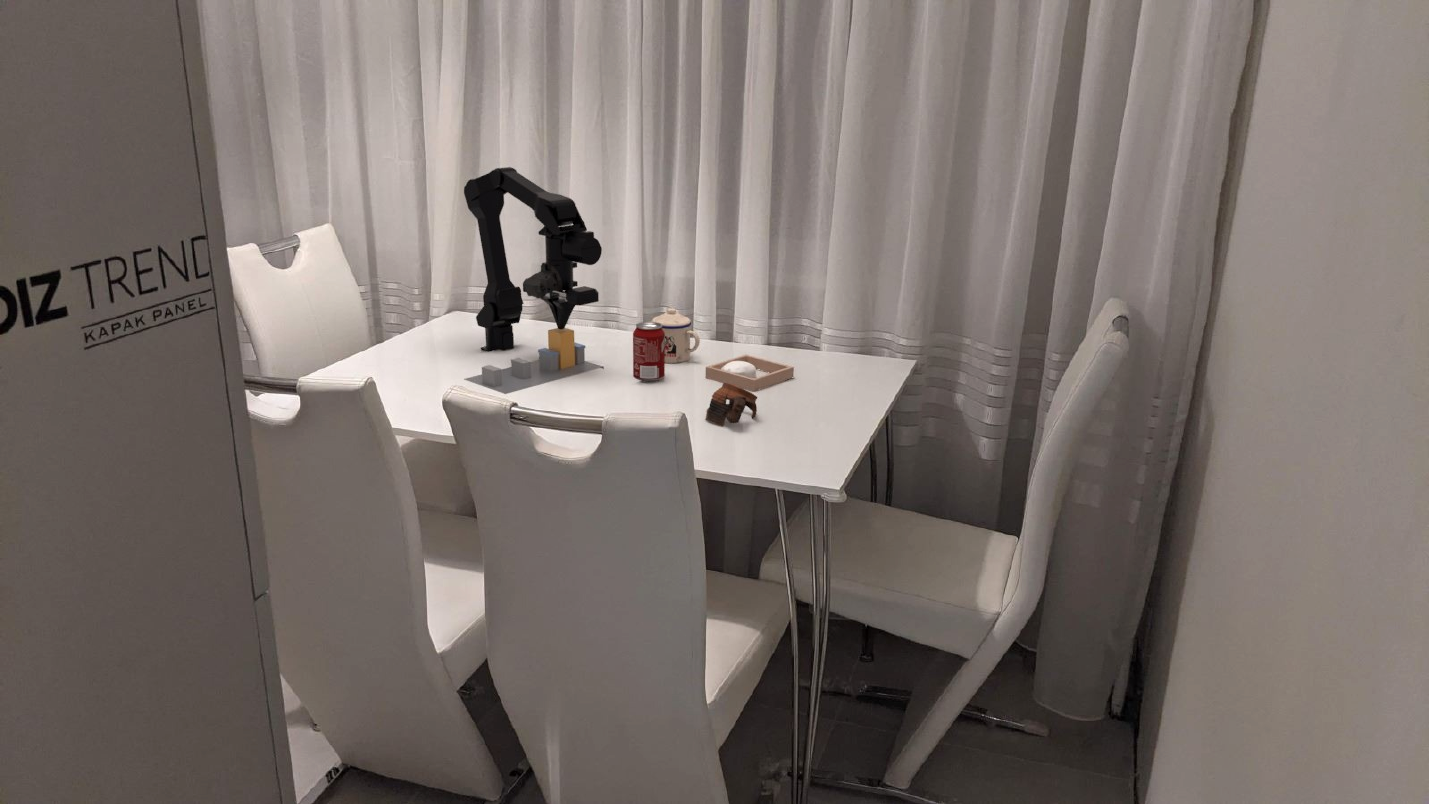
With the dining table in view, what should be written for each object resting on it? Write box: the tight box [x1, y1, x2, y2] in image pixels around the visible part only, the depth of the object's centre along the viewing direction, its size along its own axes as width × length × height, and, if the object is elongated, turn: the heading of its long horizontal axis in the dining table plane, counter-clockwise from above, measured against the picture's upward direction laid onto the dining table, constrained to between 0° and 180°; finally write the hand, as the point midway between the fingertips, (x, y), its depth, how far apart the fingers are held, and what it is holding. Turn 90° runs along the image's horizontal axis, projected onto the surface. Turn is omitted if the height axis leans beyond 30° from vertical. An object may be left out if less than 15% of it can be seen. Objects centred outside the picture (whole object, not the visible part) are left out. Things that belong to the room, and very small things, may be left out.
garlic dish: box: [705, 354, 795, 392], centre depth 232 cm, size 14×14×2 cm
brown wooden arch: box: [705, 383, 758, 427], centre depth 205 cm, size 12×10×8 cm
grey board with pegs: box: [463, 341, 605, 395], centre depth 229 cm, size 14×27×5 cm, turn 139°
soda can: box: [632, 321, 666, 383], centre depth 228 cm, size 7×7×12 cm
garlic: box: [721, 361, 757, 379], centre depth 232 cm, size 8×7×4 cm
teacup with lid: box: [651, 307, 701, 364], centre depth 243 cm, size 12×9×12 cm
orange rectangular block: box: [547, 327, 575, 369], centre depth 234 cm, size 4×4×8 cm
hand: (561, 329), depth 232 cm, fingers closed
